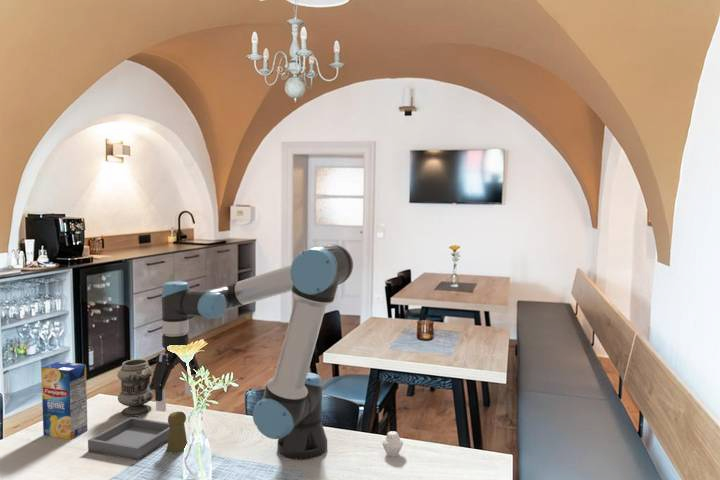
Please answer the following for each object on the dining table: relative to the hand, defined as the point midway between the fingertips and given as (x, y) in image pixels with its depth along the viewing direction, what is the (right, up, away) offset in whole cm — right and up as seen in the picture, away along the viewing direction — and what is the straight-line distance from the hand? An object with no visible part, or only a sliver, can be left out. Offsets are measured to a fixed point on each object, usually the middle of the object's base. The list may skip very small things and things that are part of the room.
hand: (175, 402), depth 160 cm
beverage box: (-40, -13, +11) cm, 43 cm away
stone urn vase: (-24, -12, +29) cm, 40 cm away
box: (-14, -14, +4) cm, 20 cm away
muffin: (+65, -15, -2) cm, 67 cm away
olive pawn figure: (0, -14, +1) cm, 14 cm away
